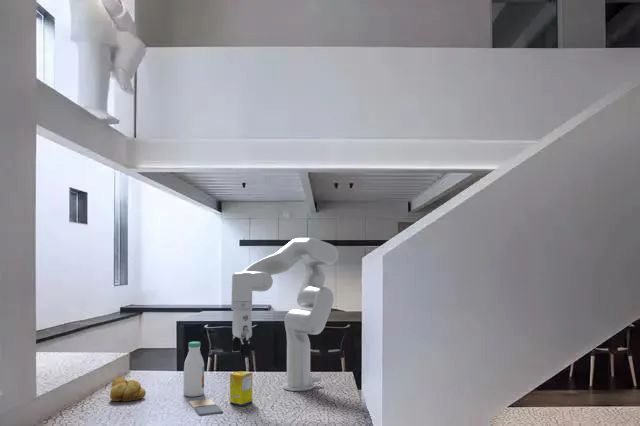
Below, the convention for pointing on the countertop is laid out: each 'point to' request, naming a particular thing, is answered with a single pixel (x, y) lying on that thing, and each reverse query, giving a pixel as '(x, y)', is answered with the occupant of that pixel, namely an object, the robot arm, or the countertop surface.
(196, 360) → the milk bottle
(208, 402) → the cream square tile
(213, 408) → the slate mat
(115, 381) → the bread roll
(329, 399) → the countertop surface
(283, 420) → the countertop surface
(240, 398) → the supplement box
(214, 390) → the countertop surface
